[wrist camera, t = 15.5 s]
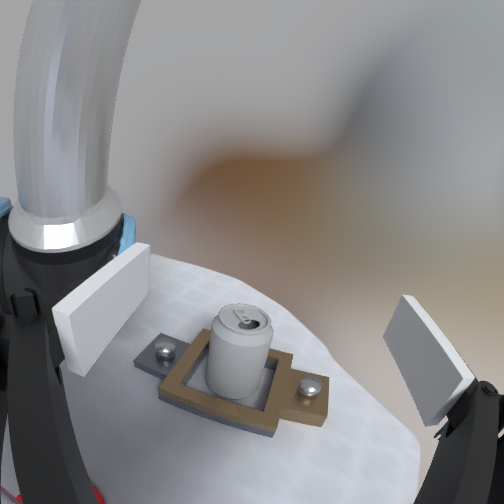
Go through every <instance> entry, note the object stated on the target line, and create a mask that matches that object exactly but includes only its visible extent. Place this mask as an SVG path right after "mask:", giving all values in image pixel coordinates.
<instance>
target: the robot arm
mask: <svg viewBox="0 0 504 504" xmlns="http://www.w3.org/2000/svg"><path fill="white" fill-rule="evenodd" d="M140 2H141V0H33V1H32V4H31V7H30V11H29V15H28V18H27V22H26V26H25V30H24V34H23V39H22V44H21V49H20V55H19V61H18V68H17V76H16V85H15V98H14V126H13V127H14V128H13V129H14V157H15V171H16V181H17V189H18V197H19V199H18V200H17V202H16V203H15V205H14V206H12V205H11V201H10V199H9V198H2V197H1V198H0V504H1V461H2V449H3V440H4V432H5V426H6V420H7V414H8V421H9V433H10V442H11V449H12V456H13V462H14V467H15V472H16V477H17V482H18V486H19V490H20V494H21V497H22V501H23V504H100V503H99V501H98V499H97V497H96V494H95V492H94V490H93V487H92V485H91V482H90V480H89V477H88V474H87V472H86V469H85V466H84V463H83V460H82V457H81V454H80V451H79V448H78V445H77V441H76V438H75V434H74V431H73V427H72V423H71V419H70V415H69V410H68V406H67V401H66V396H65V391H64V385H63V379H62V373H61V369H60V366H59V364H60V363H61V362H62V361H63V360H64V359H65V362H66V365H67V368H68V370H70V371H72V372H74V373H76V374H78V375H80V376H82V377H85V375H86V374H87V373H88V371H89V370H90V368H91V367H92V366H93V364H94V363H95V362H96V360H97V359H98V358H99V356H100V355H101V354H102V352H103V351H104V350H105V348H106V347H107V346H108V344H109V343H110V342H111V340H112V339H113V338H114V336H115V335H116V334H117V333H118V331H119V330H120V329H121V327H122V326H123V325H124V324H125V322H126V321H127V320H128V318H129V317H130V316H131V315H132V313H133V312H134V311H135V310H136V308H137V307H138V306H139V305H140V303H141V302H142V301H143V300H144V298H145V297H146V296H147V295H148V292H149V257H150V245H147V244H142V243H138V242H136V243H135V235H136V223H135V219H134V218H133V217H132V216H129V215H127V214H125V213H123V214H122V202H121V199H120V197H119V195H118V194H117V192H116V191H115V190H114V189H112V188H111V187H110V186H109V185H107V179H108V162H109V150H110V139H111V130H112V122H113V115H114V108H115V101H116V95H117V89H118V85H119V79H120V75H121V70H122V65H123V61H124V57H125V52H126V48H127V45H128V41H129V37H130V33H131V30H132V27H133V23H134V20H135V17H136V14H137V11H138V8H139V5H140ZM383 338H384V340H385V342H386V343H387V346H388V347H389V349H390V351H391V353H392V355H393V357H394V359H395V361H396V363H397V365H398V367H399V370H400V371H401V374H402V376H403V378H404V380H405V382H406V384H407V387H408V388H409V391H410V393H411V395H412V397H413V400H414V402H415V404H416V406H417V409H418V411H419V413H420V416H421V418H422V420H423V423H424V425H425V427H426V426H432V425H438V423H439V422H440V421H441V420H442V419H443V418H444V417H445V415H447V418H448V421H447V422H446V423H445V425H444V426H443V427H442V428H441V429H440V430H439V431H438V432H437V433H436V434H435V436H434V438H436V437H437V436H438V435H440V434H441V437H440V438H439V439H438V440H439V443H438V446H437V449H436V452H435V454H434V457H433V460H432V463H431V465H430V468H429V470H428V473H427V475H426V478H425V480H424V482H423V485H422V487H421V489H420V491H419V493H418V495H417V497H416V499H415V502H414V504H504V434H503V435H502V436H501V437H500V438H498V434H499V433H500V432H501V431H502V429H503V428H504V395H500V394H498V391H497V390H496V388H495V387H494V386H493V385H492V384H490V383H489V382H487V381H480V382H478V380H477V379H476V377H475V376H474V374H473V373H472V371H471V370H470V369H469V367H468V366H467V364H465V361H464V360H463V359H462V358H461V356H460V355H459V353H458V352H457V351H456V350H455V348H454V347H453V346H452V345H451V343H450V342H449V340H448V339H447V338H446V337H445V335H444V334H443V333H442V331H441V330H440V329H439V328H438V326H437V325H436V324H435V323H434V321H433V320H432V319H431V318H430V317H429V315H428V314H427V313H426V312H425V310H424V309H423V308H422V307H421V305H420V304H419V303H418V302H417V301H416V299H415V298H414V297H413V296H408V295H402V296H401V298H400V300H399V303H398V305H397V307H396V310H395V312H394V314H393V316H392V318H391V320H390V323H389V325H388V327H387V329H386V331H385V333H384V335H383Z"/></svg>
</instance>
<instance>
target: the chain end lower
mask: <svg viewBox="0 0 504 504" xmlns="http://www.w3.org/2000/svg"><path fill="white" fill-rule="evenodd" d="M190 345H191V344H188V343H186V342H183V341H180V340H178V339H175V338H172V337H170V336H167V335H165V334H162V333H160V334H159V335H158V336H157V337H156V338H155V340H154V341H153V342H152V343H151V344H150V345H149V346H148V347H147V348H146V349H145V350H144V351H143V352H142V353H141V354H140V355H139V356H138V357H137V358H136V359H135V360H134V364H135V367H137V368H139V369H141V370H143V371H145V372H148V373H150V374H152V375H154V376H156V377H159V378H161V379H163V380H164V379H165V378H166V377H167V375H168V374H169V373H170V371H171V370H172V369H173V368H174V366H175V365H176V364H177V362H178V361H179V360H180V358H181V357H182V356H183V354H184V353H185V352H186V350H187V349H188V348H189V347H190ZM208 351H209V346H208V348H207V349H206V351H205V352H204V354H203V355H202V357H201V358H200V360H199V361H198V363H197V364H196V366H195V367H194V369H193V370H192V372H191V373H190V375H189V376H188V378H187V379H186V381H185V382H184V383H183V385H184V386H186V384H187V383H188V381H189V380H190V378H191V377H192V375H193V374H194V372H195V371H196V369H197V368H198V366H199V364H200V363H201V361H202V360H203V358H204V357H205V355H206V354H207V352H208ZM264 367H266V368H269V369H273V370H275V371H276V367H277V364H273V363H269V362H265V366H264ZM274 374H275V373H274ZM273 378H274V377H273ZM272 381H273V380H272ZM271 385H272V384H271ZM270 388H271V387H270ZM269 392H270V391H269ZM268 395H269V394H268ZM159 399H161V400H163V401H165V402H167V403H170V404H172V405H174V406H177V407H179V408H182V409H184V410H187V411H189V412H192V413H194V414H197V415H200V416H202V417H205V418H208V419H211V420H214V421H217V422H219V423H222V424H226V425H229V426H232V427H235V428H238V429H242V430H245V431H249V432H252V433H256V434H260V435H263V436H267V437H271V438H272V437H273V435H274V433H273V432H269V431H265V430H261V429H257V428H254V427H250V426H247V425H243V424H240V423H237V422H233V421H230V420H227V419H224V418H221V417H218V416H215V415H212V414H209V413H206V412H204V411H201V410H198V409H196V408H193V407H190V406H188V405H185V404H183V403H180V402H178V401H175V400H173V399H171V398H168V397H166V396H164V395H162V394H159ZM267 399H268V398H267ZM266 402H267V401H266ZM265 405H266V404H265ZM264 409H265V408H264ZM263 412H264V411H263Z"/></svg>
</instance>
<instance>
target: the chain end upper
mask: <svg viewBox="0 0 504 504" xmlns="http://www.w3.org/2000/svg"><path fill="white" fill-rule="evenodd" d="M210 336H211V331H210V330H207V329H204V328H203V329H202V331H201V332H200V333H199V335H198V336H197V337H196V339H195V340H194V341H193V343H192V344H191V345H190V347H189V348H188V349H187V350H186V352H185V353H184V354H183V356H182V357H181V358H180V360H179V361H178V362H177V364H176V365H175V366H174V368H173V369H172V370H171V371H170V373H169V374H168V375H167V377H166V378H165V379H164V381H163V382H162V383H161V385H160V386H159V387H158V390H159V394H162V395H164V396H166V397H168V398H171V399H173V400H175V401H178V402H180V403H183V404H185V405H188V406H190V407H193V408H196V409H198V410H201V411H204V412H206V413H209V414H212V415H215V416H218V417H221V418H224V419H227V420H230V421H233V422H237V423H240V424H243V425H247V426H250V427H254V428H257V429H261V430H265V431H269V432H273V433H275V431H276V429H277V426H278V422H279V418H280V419H284V420H289V421H293V422H298V423H303V424H308V425H313V426H318V427H321V426H322V425H323V423H324V421H325V420H326V418H327V414H328V395H329V377H326V376H321V375H316V374H312V373H307V372H303V371H299V370H295V369H291V363H292V359H293V354H289V353H285V352H281V351H278V350H274V349H270V348H269V352H268V355H267V359H266V362H269V363H273V364H277V367H276V371H275V374H274V378H273V381H272V385H271V388H270V392H269V395H268V399H267V402H266V405H265V409H264V412H263V411H260V410H256V409H252V408H249V407H245V406H242V405H239V404H236V403H232V402H229V401H226V400H223V399H220V398H217V397H214V396H211V395H208V394H206V393H203V392H200V391H197V390H195V389H192V388H189V387H187V386H184V385H183V383H184V382H185V381H186V379H187V378H188V376H189V375H190V373H191V372H192V370H193V369H194V367H195V366H196V364H197V363H198V361H199V360H200V358H201V357H202V355H203V354H204V352H205V351H206V349H207V348H208V346H209V345H210Z"/></svg>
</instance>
